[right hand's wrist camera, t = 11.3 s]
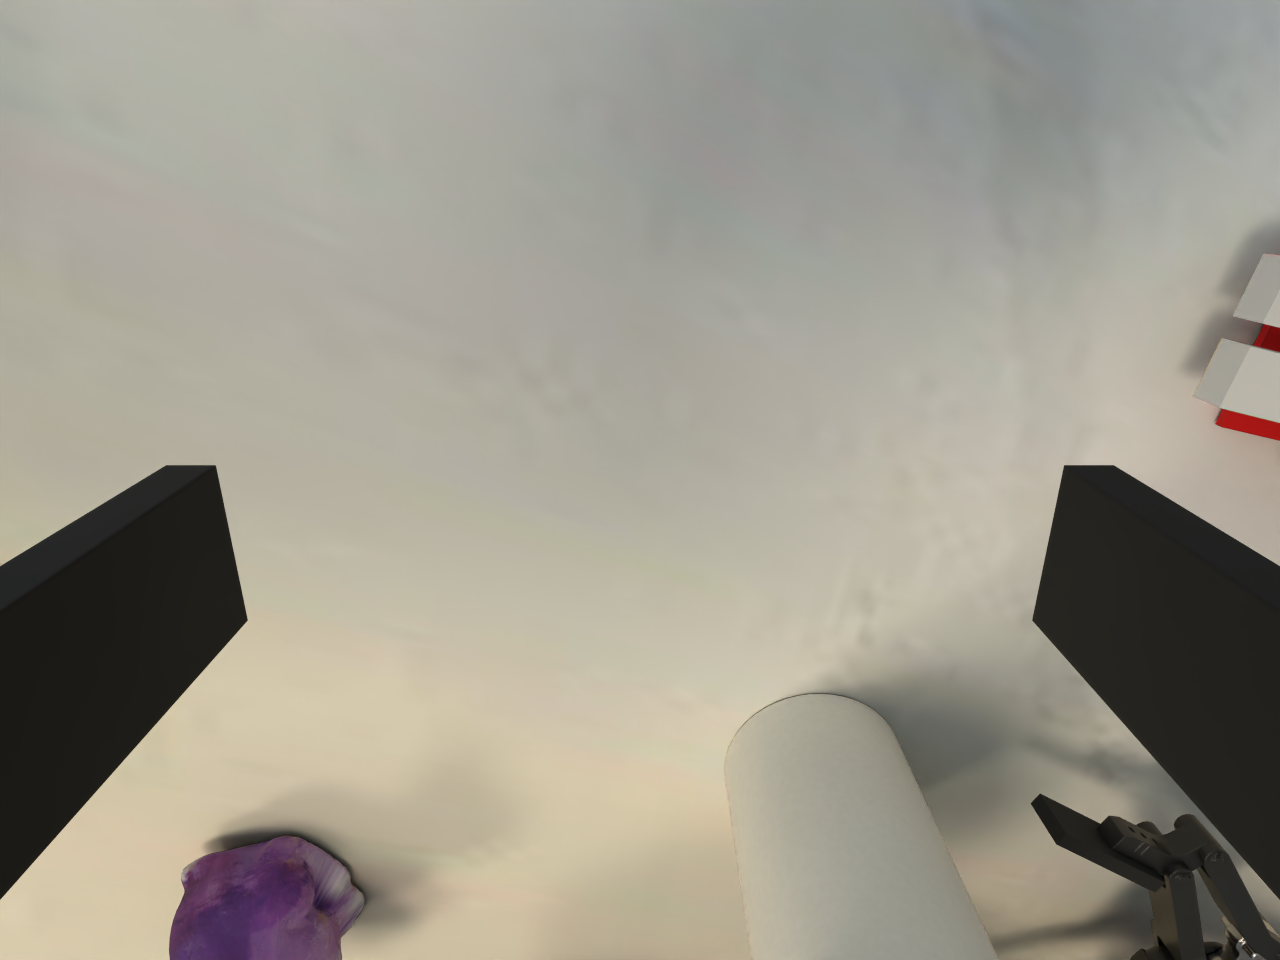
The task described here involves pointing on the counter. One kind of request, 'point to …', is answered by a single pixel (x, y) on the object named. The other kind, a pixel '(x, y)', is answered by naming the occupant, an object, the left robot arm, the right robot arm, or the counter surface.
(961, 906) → the jar
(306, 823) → the counter surface
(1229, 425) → the toy
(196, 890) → the figurine
